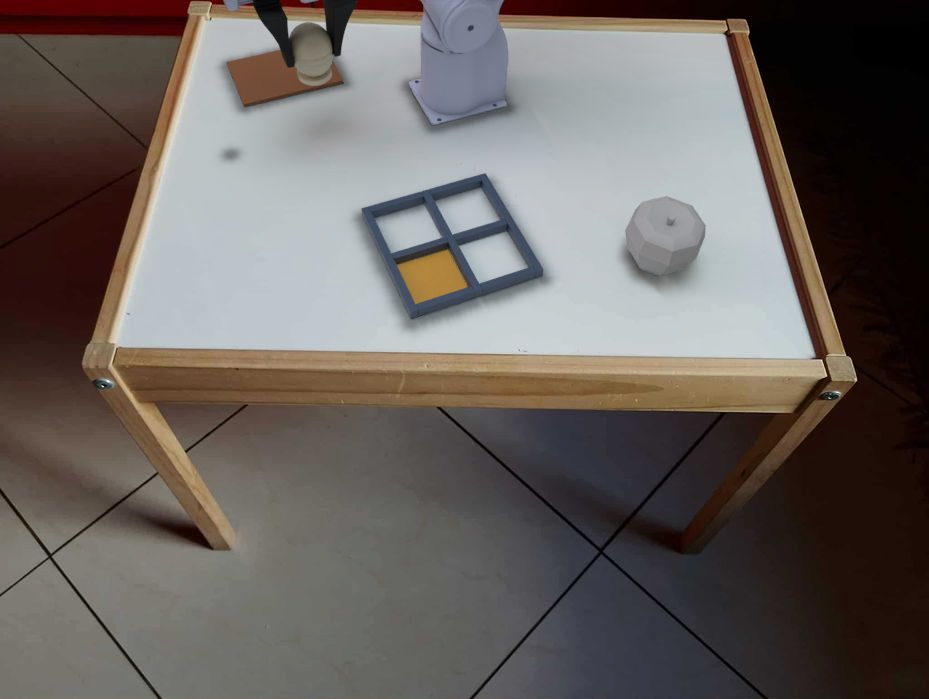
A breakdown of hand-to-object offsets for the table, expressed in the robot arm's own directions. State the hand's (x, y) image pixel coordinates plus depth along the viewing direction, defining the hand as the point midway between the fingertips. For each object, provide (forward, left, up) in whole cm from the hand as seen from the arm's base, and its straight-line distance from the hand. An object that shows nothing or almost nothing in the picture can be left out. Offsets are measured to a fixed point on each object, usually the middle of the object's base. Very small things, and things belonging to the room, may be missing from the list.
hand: (311, 56), depth 77 cm
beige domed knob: (0, 0, -2) cm, 2 cm away
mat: (+1, -10, -9) cm, 14 cm away
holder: (-7, +22, -9) cm, 25 cm away
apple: (-26, +31, -10) cm, 41 cm away
